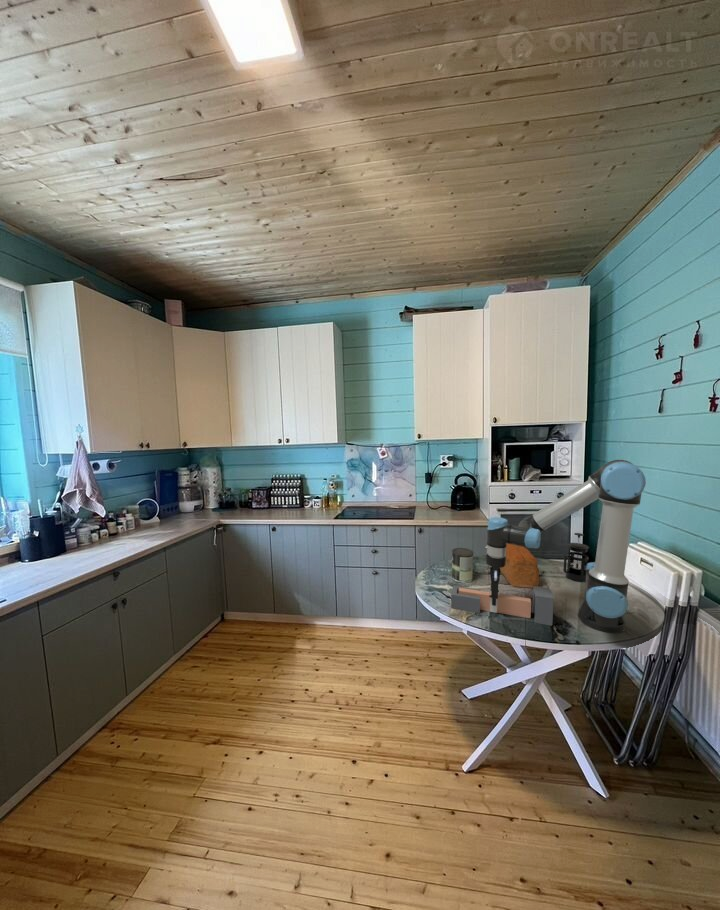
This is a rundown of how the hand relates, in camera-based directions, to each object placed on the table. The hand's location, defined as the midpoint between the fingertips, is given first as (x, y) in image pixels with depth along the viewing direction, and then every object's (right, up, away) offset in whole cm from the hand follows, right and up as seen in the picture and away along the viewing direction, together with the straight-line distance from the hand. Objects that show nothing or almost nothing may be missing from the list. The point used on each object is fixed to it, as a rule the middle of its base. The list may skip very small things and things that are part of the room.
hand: (493, 609), depth 147 cm
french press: (+53, +2, +31) cm, 61 cm away
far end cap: (-10, 0, +4) cm, 11 cm away
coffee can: (-4, +2, +30) cm, 30 cm away
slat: (0, 0, 0) cm, 0 cm away
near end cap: (+17, -1, -6) cm, 18 cm away
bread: (+24, +2, +33) cm, 41 cm away
